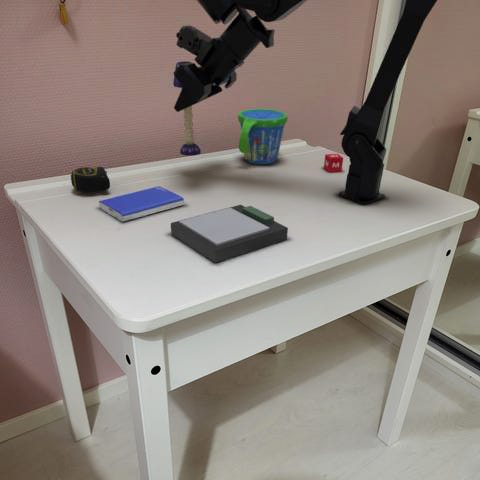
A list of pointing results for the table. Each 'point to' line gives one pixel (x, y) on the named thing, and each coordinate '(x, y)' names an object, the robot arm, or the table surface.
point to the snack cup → (261, 134)
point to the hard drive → (141, 203)
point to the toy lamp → (187, 125)
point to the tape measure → (90, 179)
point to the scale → (229, 232)
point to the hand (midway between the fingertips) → (180, 107)
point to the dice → (333, 162)
